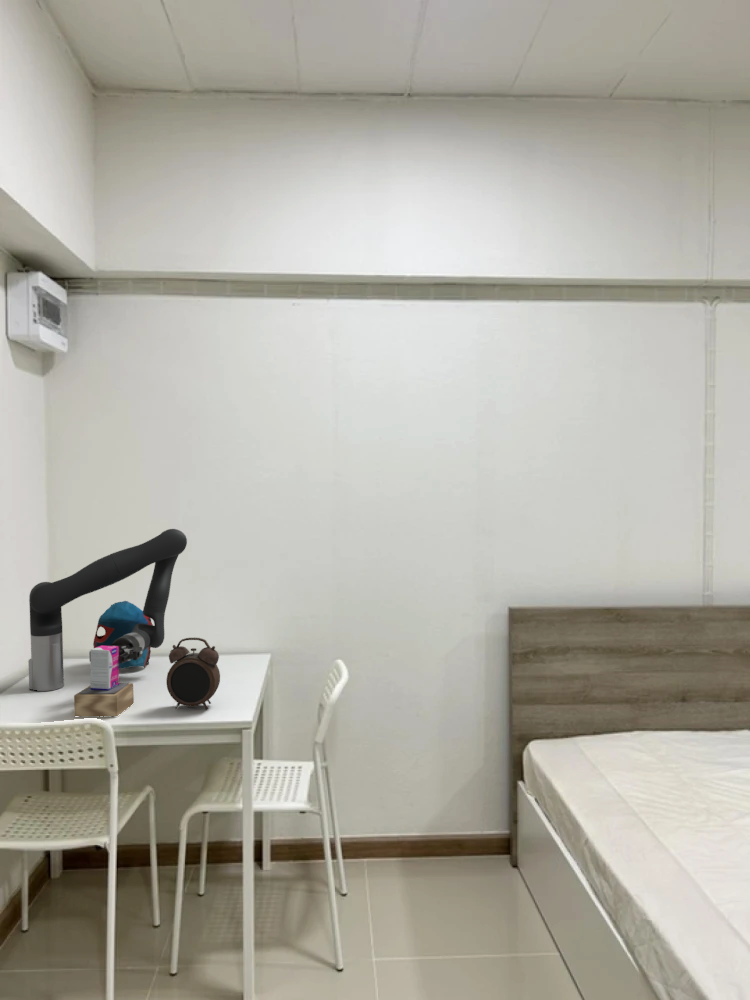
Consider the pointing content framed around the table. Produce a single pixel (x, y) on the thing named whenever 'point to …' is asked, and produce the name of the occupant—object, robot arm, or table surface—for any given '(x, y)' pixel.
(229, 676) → the table surface
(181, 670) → the alarm clock
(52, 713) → the table surface
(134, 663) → the mask
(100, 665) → the supplement box
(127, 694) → the pedestal
